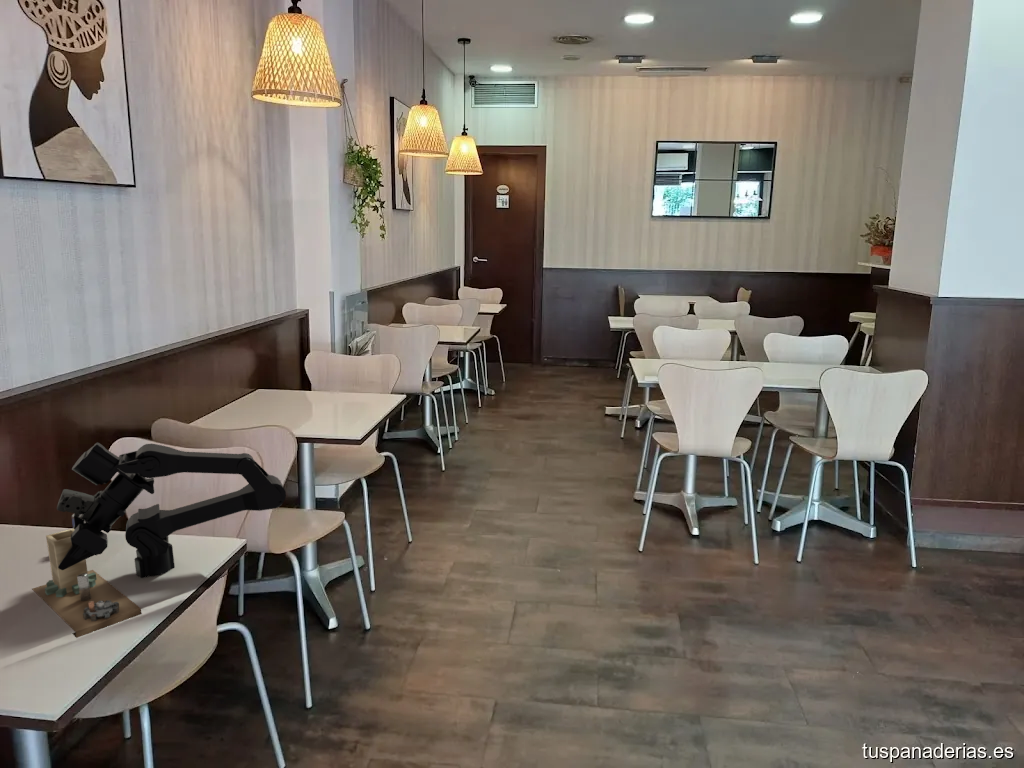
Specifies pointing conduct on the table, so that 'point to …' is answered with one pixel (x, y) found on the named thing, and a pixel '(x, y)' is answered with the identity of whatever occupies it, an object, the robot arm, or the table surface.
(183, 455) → the robot arm
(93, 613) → the drive gear
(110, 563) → the table surface
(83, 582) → the peg
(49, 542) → the open-ended square tube
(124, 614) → the gear board
